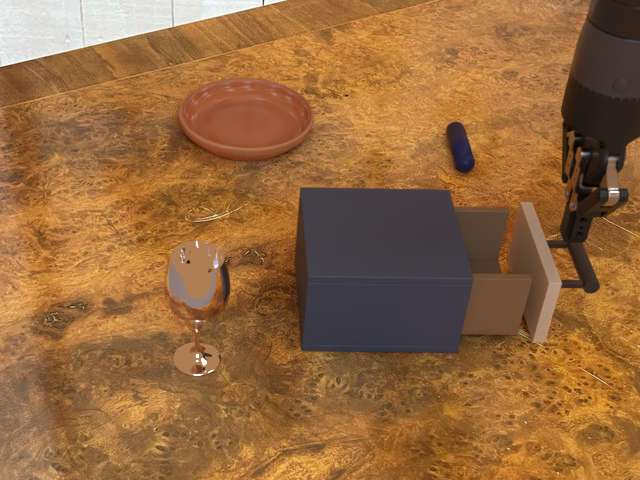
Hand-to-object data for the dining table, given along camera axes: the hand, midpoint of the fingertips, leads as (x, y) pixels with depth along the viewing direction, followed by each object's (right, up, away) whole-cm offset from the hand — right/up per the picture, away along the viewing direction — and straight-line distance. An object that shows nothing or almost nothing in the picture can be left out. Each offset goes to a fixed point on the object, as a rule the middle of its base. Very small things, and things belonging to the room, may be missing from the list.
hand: (572, 237), depth 99 cm
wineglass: (-35, -11, -1) cm, 37 cm away
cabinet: (-18, -6, +5) cm, 20 cm away
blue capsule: (-5, +11, +26) cm, 29 cm away
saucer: (-30, +14, +29) cm, 44 cm away
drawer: (-7, -6, +5) cm, 10 cm away
